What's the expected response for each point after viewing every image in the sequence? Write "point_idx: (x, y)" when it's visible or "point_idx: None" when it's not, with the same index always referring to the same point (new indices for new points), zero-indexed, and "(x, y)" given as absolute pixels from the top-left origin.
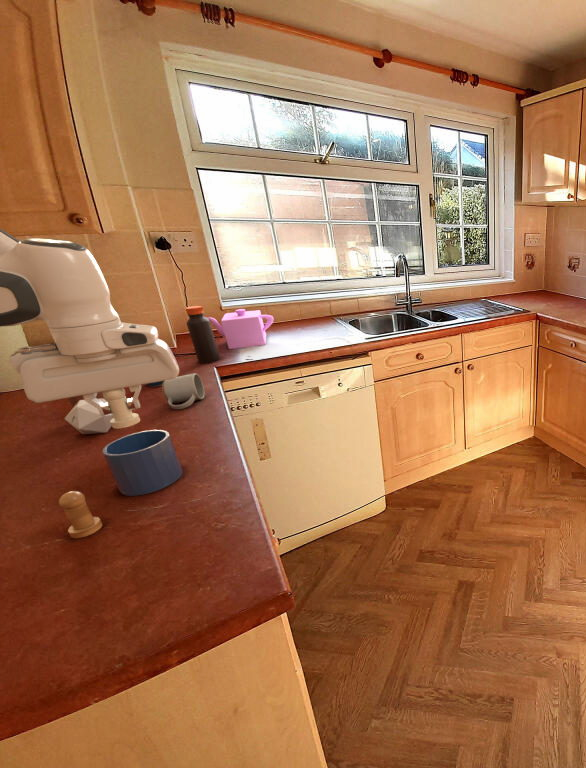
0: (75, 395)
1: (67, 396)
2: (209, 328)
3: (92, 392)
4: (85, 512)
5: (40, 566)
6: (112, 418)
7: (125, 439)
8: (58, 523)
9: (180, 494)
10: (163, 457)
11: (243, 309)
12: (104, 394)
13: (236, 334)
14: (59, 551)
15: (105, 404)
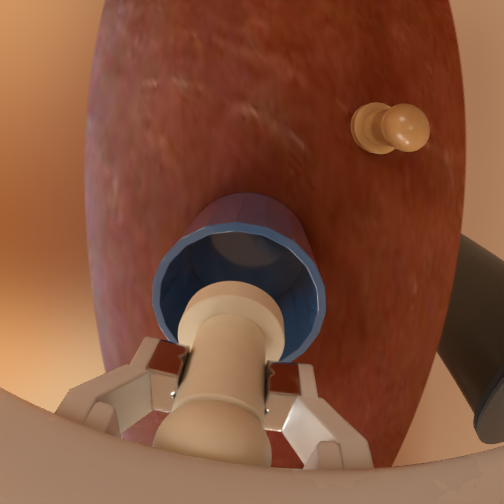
0: (415, 467)
1: (449, 463)
2: None
3: (326, 472)
4: (379, 113)
5: (431, 70)
6: None
7: None
8: (408, 206)
9: (203, 132)
10: (193, 222)
11: None
12: (261, 452)
13: None
14: (411, 91)
15: (277, 414)
